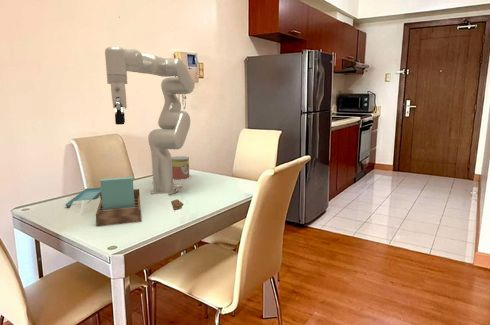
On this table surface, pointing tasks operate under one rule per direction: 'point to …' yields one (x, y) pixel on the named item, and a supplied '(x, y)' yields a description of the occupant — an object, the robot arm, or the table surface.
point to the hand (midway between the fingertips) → (120, 123)
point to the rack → (119, 213)
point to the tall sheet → (117, 193)
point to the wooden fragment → (176, 204)
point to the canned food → (180, 167)
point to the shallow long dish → (85, 196)
